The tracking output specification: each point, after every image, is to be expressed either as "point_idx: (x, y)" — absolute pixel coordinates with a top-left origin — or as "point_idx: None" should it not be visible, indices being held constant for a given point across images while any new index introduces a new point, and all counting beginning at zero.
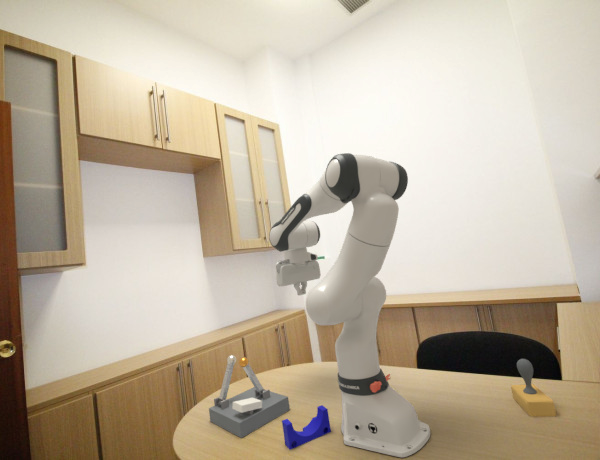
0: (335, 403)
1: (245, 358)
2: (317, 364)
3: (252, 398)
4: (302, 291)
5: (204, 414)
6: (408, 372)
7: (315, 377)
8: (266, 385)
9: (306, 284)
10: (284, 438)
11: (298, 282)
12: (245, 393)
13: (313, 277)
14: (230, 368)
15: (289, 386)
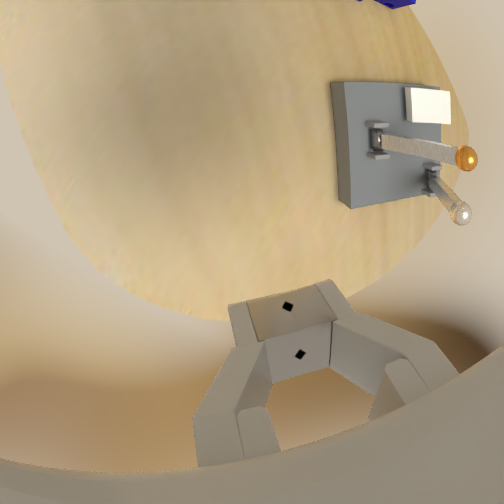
0: (246, 17)
1: (472, 153)
2: (120, 267)
3: (415, 116)
4: (303, 311)
5: (415, 219)
6: (17, 34)
7: (174, 188)
8: (286, 247)
9: (212, 413)
10: (398, 7)
11: (479, 367)
12: (381, 191)
13: (18, 498)
14: (456, 197)
15: (256, 193)
